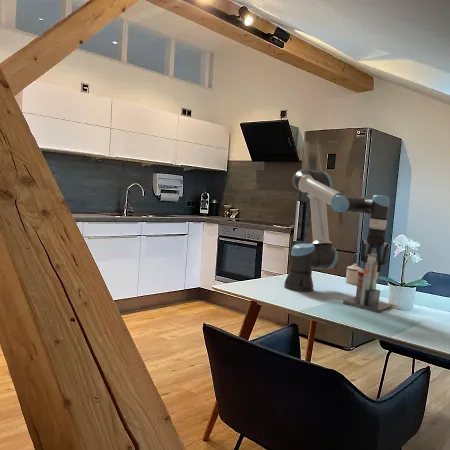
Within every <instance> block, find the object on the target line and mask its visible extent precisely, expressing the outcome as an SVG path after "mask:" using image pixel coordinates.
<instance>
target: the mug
mask: <svg viewBox="0 0 450 450" xmlns="http://www.w3.org/2000/svg"><path fill="white" fill-rule="evenodd" d="M363 277H364V269H362V270H358V278H357V285H356V292H355V297H358V289H359V288H362V284H363Z"/></svg>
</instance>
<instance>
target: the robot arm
mask: <svg viewBox="0 0 450 450" xmlns="http://www.w3.org/2000/svg"><path fill="white" fill-rule="evenodd" d="M292 185H293V187H294V188H295V189H296V190H297V191H299V192H301V193H306V197H307V198H308V199H309V205H310V206H309V207H310V216H311V217H310V219H311V230H312V231H311V233H312V242H311V243H297V244H294V245H293V246H292V247H291V252H290V255H291V256H290V261H289V271H288V274H287V277H286V279H285V281H284V283H283V284H284V285H283V286H284V288H285V289H288V290H291V291H298V292H313V291H314V282H313V278H312V273H313V270H329V269H333V268H334V267H335V266H336V264H337V263H338V260H339V253H338V251H337V250H336V248H335V247H333V242H331V240H330V236H329V235H330V234H329V223H328V222H329V221H328V209H327V205H329V206H330V207H331V209H332V210H333V211H334V212H339V213H352V214H363V215H370V217H369V225H368V226H369V228H368V233H367V237H366V239H360V243H361V250H360V251H361V252H360V261H361V262H363V270H364V269H365V263H367V260H368V256H367V254H371V253H372V252H373V250H374V249H375V251H376V254H377V255H378V257H377V263H378V264H377V265H376V268H375V275H374V279H377V280H378V278H379V274H380V273H381V270H382V266H384V265H386V264H387V260H388V254H389V249H390V247H391V244H390V243H387V242H386V240H385V238H386V229H387V223H388V217H389V216H388V215H389V214H388V213H389V209H390V197H389V196H388V195H380V194H374V195H373V196H372V198H368V197H367V198H365V197H357V196H349V195H345V194H343V193H342V192H340V191H338V190H335V189H333V188H332V186H333V181H332V178H331V175H330V174H329V173H327V172H325V171H321V170H313V169H300V170H297V171H296V172H294V174H293V176H292ZM367 244H368V248H367ZM382 247H384V248H383V252H382ZM366 250H367V251H366Z"/></svg>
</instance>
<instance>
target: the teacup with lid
mask: <svg viewBox="0 0 450 450" xmlns="http://www.w3.org/2000/svg"><path fill="white" fill-rule="evenodd" d="M358 270H363V268H361V267H360V266H358V264H357V263H353V264H352V265H350V266H349V265H348V266H347V267H346V274H345V283H346V284H350V285H355V286H357V278H358Z"/></svg>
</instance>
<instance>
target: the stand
mask: <svg viewBox="0 0 450 450" xmlns="http://www.w3.org/2000/svg"><path fill="white" fill-rule="evenodd" d="M369 267H370V263H365V269H364V268H363V270H364V277H363V284H362V288H359V289H358V297H356V296H354V297H351V298H347V299H343V300H342V304H343V305H347V306H350V305H351V307H354V306H355V307H354V308H359V309H362V310H363V309H364V310H367V311H371V312H375V313H379V314H382V313H383V312H386V311H388V310H391V309H393V305H392V304H390V303H389V304H388V303H386V302H385V303H384V302H380V295H381V290H380V289H375V291H370V290H367V283H368V275H369Z"/></svg>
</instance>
